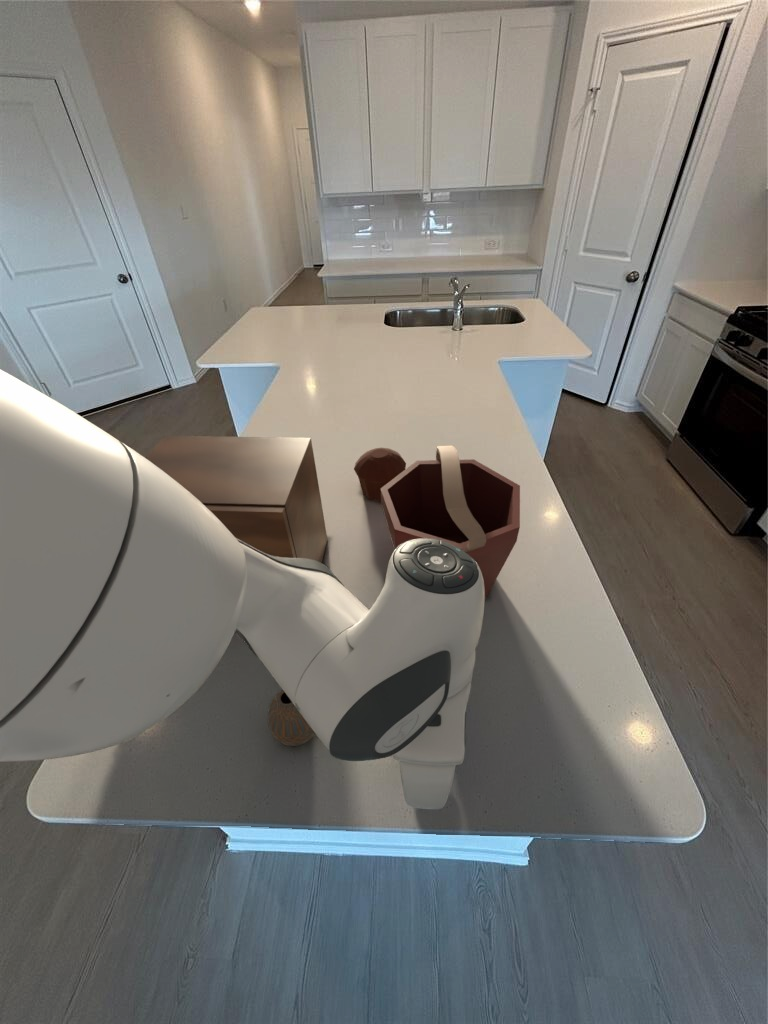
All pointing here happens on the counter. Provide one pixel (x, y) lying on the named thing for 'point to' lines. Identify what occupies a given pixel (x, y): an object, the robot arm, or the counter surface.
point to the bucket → (455, 508)
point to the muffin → (378, 470)
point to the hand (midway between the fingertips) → (423, 728)
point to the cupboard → (251, 479)
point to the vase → (287, 722)
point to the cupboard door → (258, 527)
